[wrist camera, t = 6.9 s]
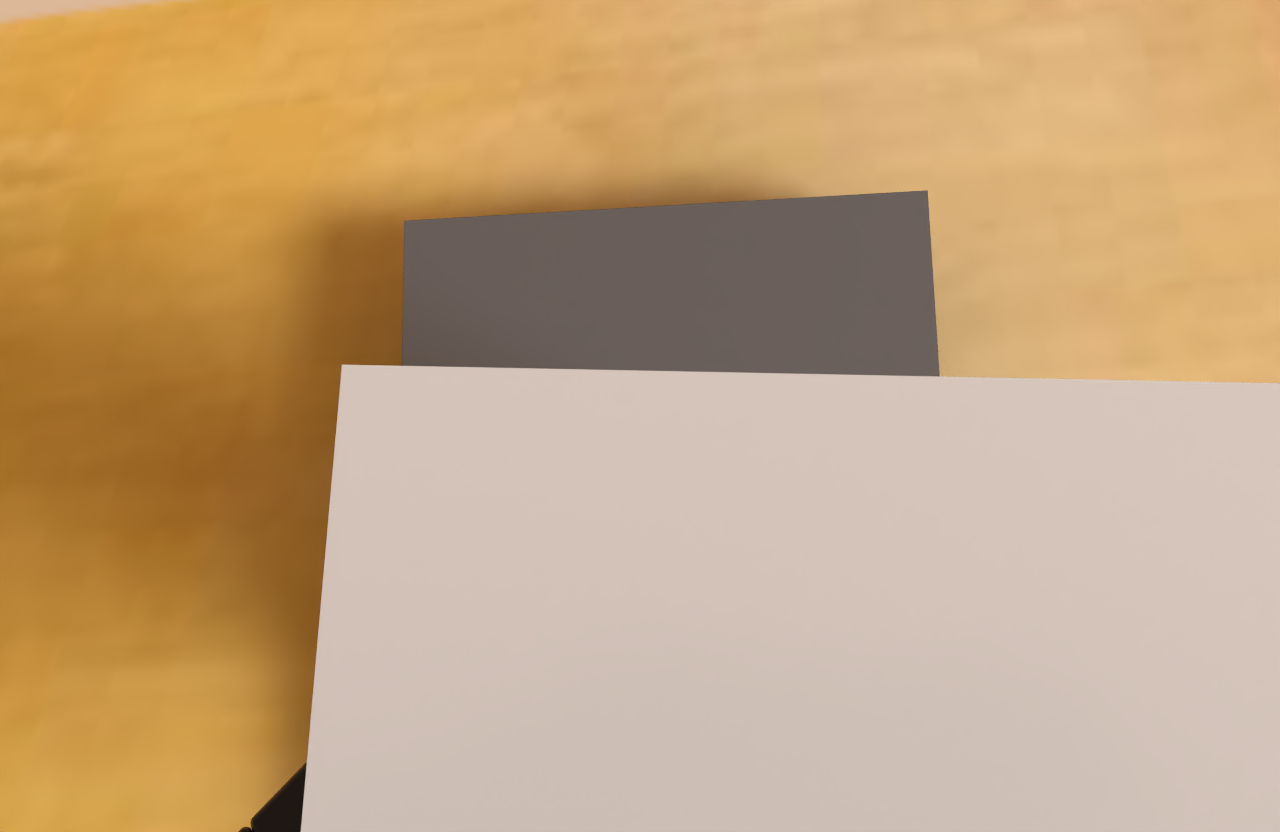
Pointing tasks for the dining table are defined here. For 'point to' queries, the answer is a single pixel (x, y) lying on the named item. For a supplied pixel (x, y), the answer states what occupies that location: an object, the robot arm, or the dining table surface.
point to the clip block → (679, 288)
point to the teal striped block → (797, 604)
